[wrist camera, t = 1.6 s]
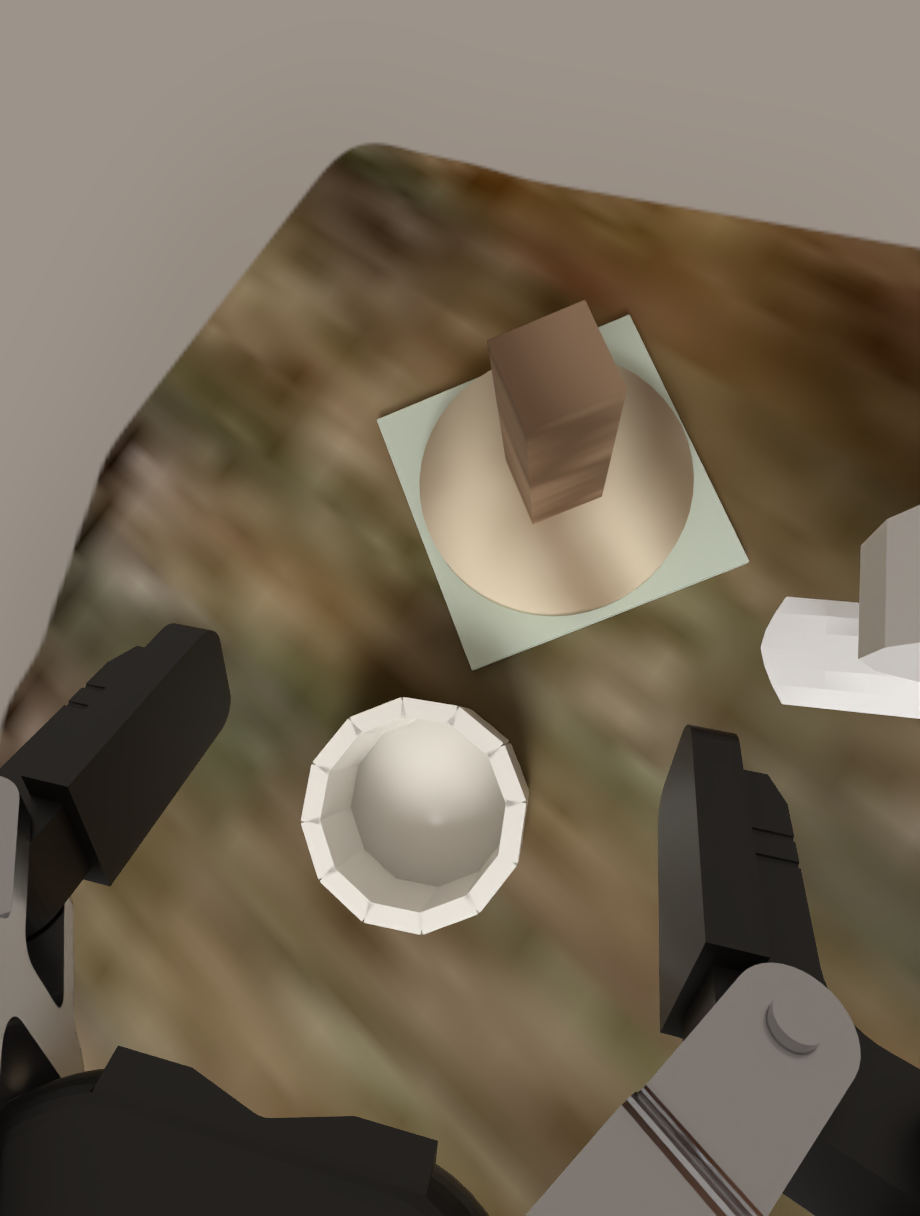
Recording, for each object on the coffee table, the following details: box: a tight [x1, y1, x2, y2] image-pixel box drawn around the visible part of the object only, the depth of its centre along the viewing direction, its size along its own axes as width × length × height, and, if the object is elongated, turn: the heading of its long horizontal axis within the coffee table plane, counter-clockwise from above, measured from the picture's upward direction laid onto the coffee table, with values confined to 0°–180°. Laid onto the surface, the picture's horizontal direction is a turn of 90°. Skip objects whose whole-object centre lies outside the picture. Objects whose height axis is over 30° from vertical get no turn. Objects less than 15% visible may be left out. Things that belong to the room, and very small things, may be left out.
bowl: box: [301, 697, 529, 935], centre depth 30 cm, size 9×9×5 cm
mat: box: [377, 315, 749, 671], centre depth 34 cm, size 14×14×1 cm
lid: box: [419, 300, 694, 616], centre depth 28 cm, size 13×13×12 cm
